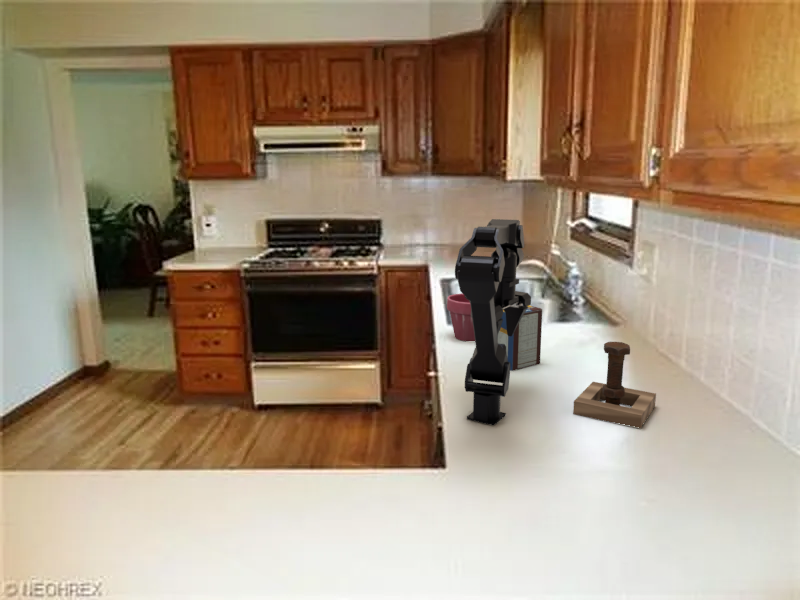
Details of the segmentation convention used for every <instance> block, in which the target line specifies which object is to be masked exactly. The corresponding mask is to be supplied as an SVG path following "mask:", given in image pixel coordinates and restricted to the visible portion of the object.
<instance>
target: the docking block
mask: <svg viewBox="0 0 800 600" xmlns="http://www.w3.org/2000/svg"><path fill="white" fill-rule="evenodd" d="M605 384H606V383H603V382H597V381H592V382H591V383H590V384H589V385H588V386H587V387H586V388H585V389H584V390H583V391H582V392H581V393H580V394H579V396H577V398H575V399H574V400H573V410H572V412H573V415H577V416H581V417H584V418H591V419H593V420H598V419H599V421H603V420H604V422H607V421H609V422H608V423H611V422H615V423H614V424H616V423H620V424H625V425H630V426H635V427H639V428H641V427H643V426H644V424H645V423H644V422H646V421H647V420H646V419H648V418H647V417H650V415H649V414H651V413H652V412H653V410H654V409H655V407H656V398H657V393H656V392H655V393H654V392H650V391H643V390H639V389H633V388H629V387H624V389H625V395H624V397H622V398H621V399H620V400H621V401H620V406H619V405H614V404H610V403H605V399H606V398H605V395H603V385H605ZM624 404H625V406H624ZM629 405H630V406H631V407H629ZM654 406H655V407H654ZM653 408H654V409H653ZM651 411H652V412H651ZM645 420H646V421H645ZM643 423H644V424H643ZM620 424H619V425H620ZM625 425H624V426H625ZM642 425H643V426H642ZM641 429H642V428H641Z"/></svg>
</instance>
